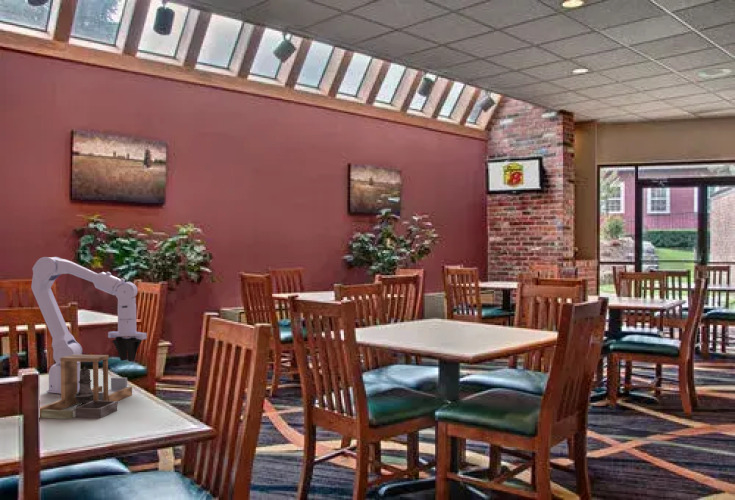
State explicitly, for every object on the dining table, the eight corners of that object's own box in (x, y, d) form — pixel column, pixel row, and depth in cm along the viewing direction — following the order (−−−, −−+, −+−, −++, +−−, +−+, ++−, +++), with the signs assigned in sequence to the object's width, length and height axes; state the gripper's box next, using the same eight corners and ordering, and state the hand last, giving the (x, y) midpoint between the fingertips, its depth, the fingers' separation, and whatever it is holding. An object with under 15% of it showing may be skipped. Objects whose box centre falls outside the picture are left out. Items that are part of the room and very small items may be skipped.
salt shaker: (100, 404, 195) (99, 363, 195) (89, 409, 189) (89, 367, 189) (81, 404, 195) (80, 363, 195) (70, 408, 189) (69, 367, 189)
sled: (111, 391, 211) (111, 377, 211) (128, 392, 210) (128, 377, 210) (84, 402, 196) (84, 386, 196) (102, 402, 195) (102, 387, 195)
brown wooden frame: (98, 393, 209) (98, 347, 209) (151, 395, 206) (150, 348, 206) (35, 417, 179) (34, 364, 179) (95, 420, 176) (94, 365, 176)
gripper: (100, 319, 214) (101, 361, 214) (135, 321, 209) (136, 363, 209) (117, 317, 221) (117, 357, 221) (151, 318, 215) (151, 360, 215)
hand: (127, 360), depth 215 cm, fingers open, 3 cm apart
